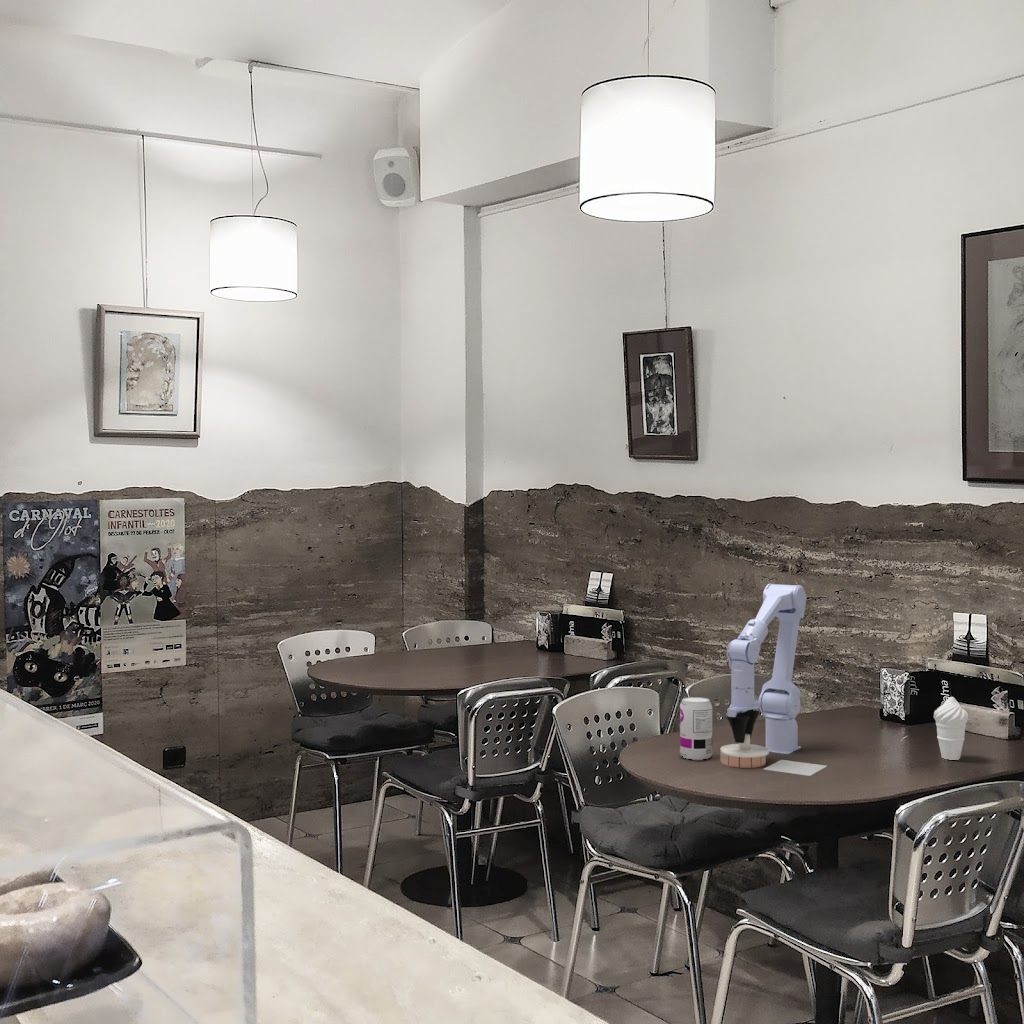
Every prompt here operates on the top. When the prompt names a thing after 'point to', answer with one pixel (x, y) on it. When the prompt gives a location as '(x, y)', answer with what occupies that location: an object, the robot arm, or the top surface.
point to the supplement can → (696, 728)
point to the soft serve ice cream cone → (951, 728)
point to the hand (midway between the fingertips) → (742, 740)
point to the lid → (744, 749)
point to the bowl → (742, 761)
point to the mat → (795, 767)
